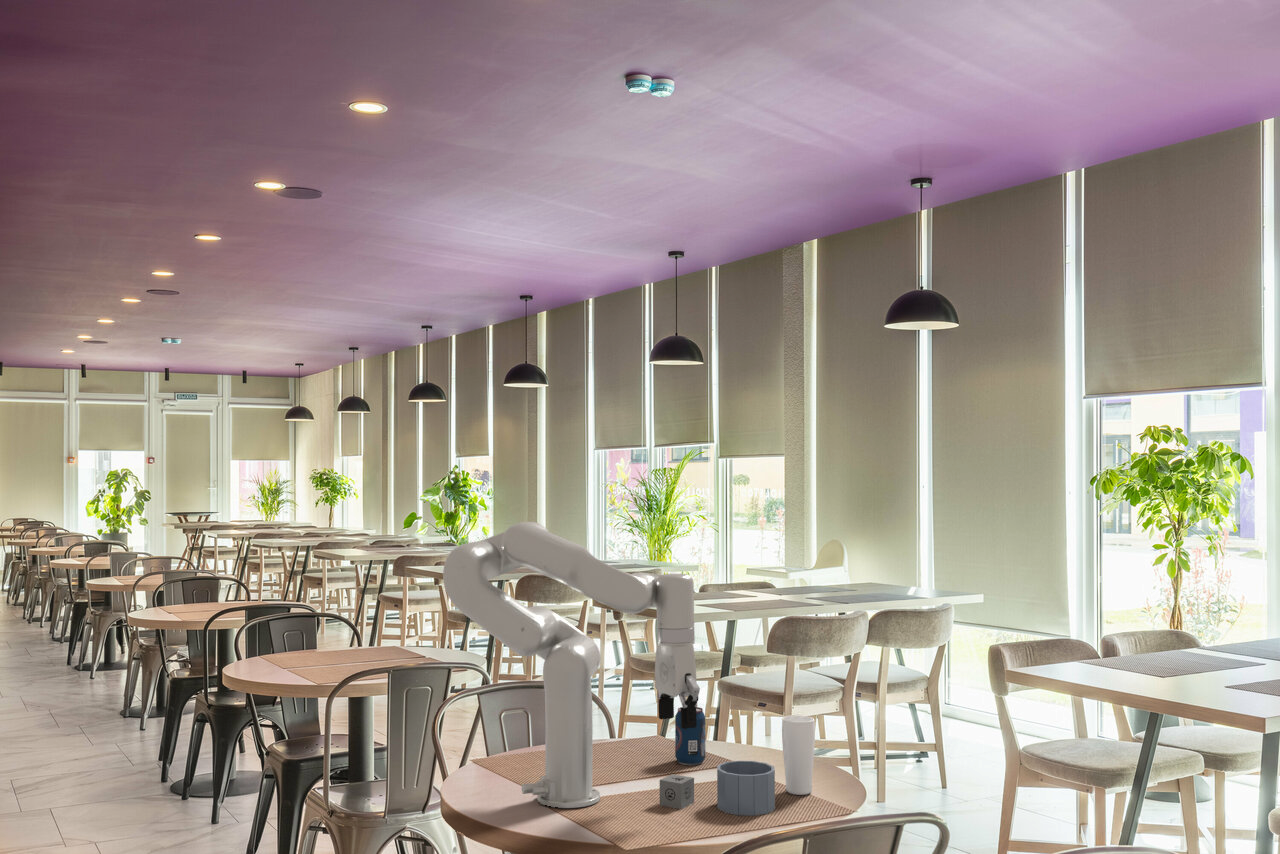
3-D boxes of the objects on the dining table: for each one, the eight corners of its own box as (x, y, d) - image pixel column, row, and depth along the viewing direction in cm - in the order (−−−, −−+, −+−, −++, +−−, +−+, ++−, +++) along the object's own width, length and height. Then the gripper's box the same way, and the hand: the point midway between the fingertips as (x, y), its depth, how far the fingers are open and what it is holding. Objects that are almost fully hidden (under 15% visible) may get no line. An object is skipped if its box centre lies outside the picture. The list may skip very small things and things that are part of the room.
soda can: (673, 758, 245) (673, 706, 246) (702, 757, 246) (702, 705, 246) (677, 766, 238) (677, 712, 239) (707, 765, 239) (707, 711, 239)
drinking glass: (819, 790, 219) (818, 716, 220) (810, 798, 213) (809, 723, 214) (787, 786, 222) (787, 713, 223) (778, 794, 216) (777, 720, 217)
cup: (735, 818, 200) (735, 778, 201) (707, 802, 210) (707, 764, 211) (785, 810, 205) (785, 771, 205) (755, 795, 215) (755, 758, 215)
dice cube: (681, 809, 206) (681, 783, 206) (659, 805, 209) (659, 779, 209) (694, 803, 210) (694, 777, 210) (672, 799, 213) (672, 774, 213)
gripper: (640, 632, 217) (641, 717, 216) (678, 642, 201) (680, 734, 200) (673, 630, 220) (674, 713, 219) (713, 640, 205) (715, 729, 203)
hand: (677, 723), depth 210 cm, fingers open, 9 cm apart
